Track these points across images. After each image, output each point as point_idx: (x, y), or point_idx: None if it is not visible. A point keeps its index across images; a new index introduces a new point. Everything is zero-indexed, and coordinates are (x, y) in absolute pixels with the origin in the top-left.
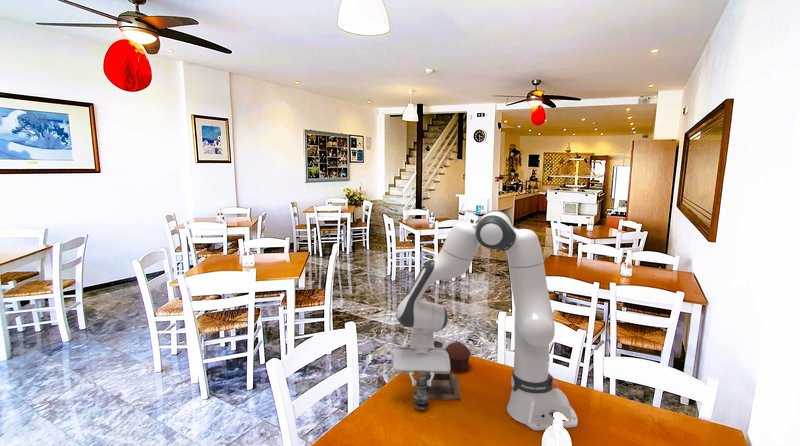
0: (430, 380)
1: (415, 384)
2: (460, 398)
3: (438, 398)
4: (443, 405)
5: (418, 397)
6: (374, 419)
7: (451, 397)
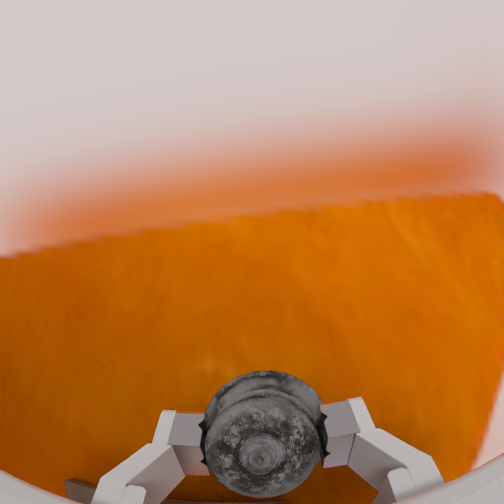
0: (157, 441)
1: (328, 402)
2: (68, 480)
3: (172, 500)
4: None
5: (285, 389)
6: (457, 292)
7: None
